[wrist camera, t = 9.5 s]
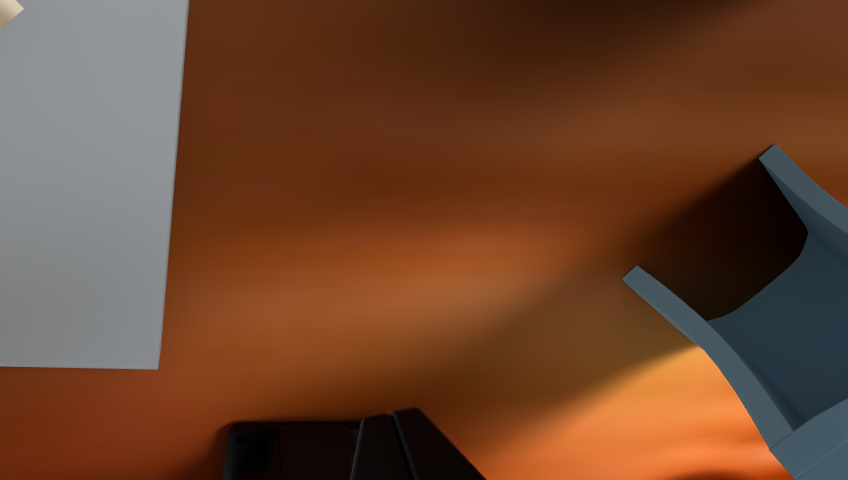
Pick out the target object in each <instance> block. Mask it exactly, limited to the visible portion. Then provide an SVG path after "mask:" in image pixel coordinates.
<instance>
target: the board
mask: <svg viewBox="0 0 848 480" xmlns="http://www.w3.org/2000/svg"><path fill="white" fill-rule="evenodd" d="M16 1H17V2H18V3H19V4H20V5H21V6H22V7H23V8H24V9H23V10H22V11H21V12H20V13H19V14H17V15H16V16H15V17H14V18H13V19H11V20H10V21H9V22H8V23H7V24H5V25H4V26H3V27H2V28H0V366H11V367H63V368H114V369H158V365H159V358H160V351H161V342H162V330H163V318H164V305H165V293H166V280H167V268H168V256H169V243H170V231H171V218H172V206H173V194H174V181H175V169H176V156H177V144H178V132H179V119H180V107H181V94H182V82H183V70H184V57H185V45H186V33H187V20H188V8H189V0H16Z"/></svg>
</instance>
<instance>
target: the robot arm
mask: <svg viewBox="0 0 848 480" xmlns="http://www.w3.org/2000/svg"><path fill="white" fill-rule="evenodd" d="M239 435H243V436H239ZM221 480H486V478H485V477H484V476H483V475H482V474H481V473H480V472H479V471H478V470H477V469H476V468H475V467H474V466H473V465H472V464H471V463H470V461H469V460H468V459H467V458H466V457H465V456H464V455H463V454H462V453H461V452H460V451H459V450H458V449H457V448H456V447H455V446H454V444H453V443H452V442H451V441H450V440H449V439H448V438H447V437H446V436H445V435H444V434H443V433H442V432H441V431H440V430H439V429H438V427H437V426H436V425H435V424H434V423H433V422H432V421H431V420H430V419H429V418H428V417H427V416H426V415H425V414H424V413H423V412H422V411H421V410H420V409H419V408H418V407H415V406H412V407H407V408H402V409H397V410H394V411H392V412H391V414H389V413H387V412H382V413H377V414H372V415H367V416H364V417H363V419H362V421H361V422H276V423H238V424H236V425H233V426H232V427H231V428H230V430H229V432H228V438H227V444H226V450H225V456H224V462H223V468H222V475H221Z"/></svg>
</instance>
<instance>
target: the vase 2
mask: <svg viewBox="0 0 848 480" xmlns="http://www.w3.org/2000/svg"><path fill="white" fill-rule="evenodd" d="M759 160H760V161H761V163H762V164H763V165H764V167H765V168H766V170H767V171H768V173H769V174H770V176H771V177H772V178H773V180H774V181H775V183H776V184H777V186H778V187H779V188H780V190H781V191H782V193H783V194H784V196H785V197H786V199H787V200H788V201H789V203H790V204H791V206H792V207H793V209H794V210H795V211H796V213H797V214H798V216H799V217H800V219H801V220H802V222H803V223H804V225H805V226H806V228H807V230H808V237H807V240H806V242H805V245H804V248H803V250H802V252H801V254H800V256H799V257H798V258H797V259H796V261H795V262H794V263H793V264H792V265H791V266H790V267H789V268H787V269H786V270H785V271H784V272H783V273H782V274H781V275H779V276H778V277H777V278H776V279H775V280H773V281H772V282H771V283H770V284H768V285H767V286H766V287H765V288H764V289H762V290H761V291H760V292H759V293H757V294H756V295H755V296H754V297H752V298H751V299H750V300H749V301H747V302H746V303H745V304H743V305H742V306H741V307H739V308H738V309H736V310H735V311H733V312H731V313H730V314H727V315H725V316H722V317H719V318H715V319H712V320H708V321H705V320H704V319H703V318H702V317H701V316H700V315H699V314H697V313H696V312H695V311H694V310H693V309H692V308H690V307H689V306H688V305H687V304H686V303H685V302H684V301H682V300H681V299H680V298H679V297H678V296H676V295H675V294H674V293H673V292H671V291H670V290H669V289H668V288H666V287H665V286H664V285H663V284H661V283H660V282H659V281H657V280H656V279H655V278H653V277H652V276H651V275H650V274H648V273H647V272H646V271H644V270H643V269H642V268H640V267H639V266H638V265H637V266H636V267H634V268H633V269H632V270H631V271H630V272H629V273H628V274H627V275H625V276H624V277H623V278H622V280H623V281H624V282H625V283H626V284H627V285H628V286H629V287H631V288H632V289H633V290H634V291H635V292H636V293H637V294H638V295H640V296H641V297H642V298H643V299H644V300H645V301H646V302H647V303H648V304H650V305H651V306H652V307H653V308H654V309H655V310H656V311H657V312H659V313H660V314H661V315H662V316H663V317H664V318H665V319H666V320H668V321H669V322H670V323H671V324H672V325H673V326H674V327H675V328H676V329H678V330H679V331H680V332H681V333H682V334H683V335H685V336H686V337H687V338H688V339H690V340H691V341H692V342H694V343H695V344H696V345H698V346H699V347H700V348H702V349H703V350H704V351H705V352H706V353H707V354H708V355H709V357H710V358H711V359H712V360H713V362H714V363H715V364H716V365H717V366H718V368H719V369H720V370H721V372H722V373H723V375H724V376H725V378H726V379H727V380H728V382H729V383H730V385H731V386H732V388H733V389H734V390H735V392H736V394H737V395H738V397H739V398H740V400H741V402H742V403H743V405H744V406H745V408H746V410H747V411H748V413H749V415H750V416H751V418H752V420H753V421H754V423H755V425H756V427H757V428H758V430H759V432H760V434H761V435H762V437H763V439H764V440H765V442H766V444H767V446H768V447H769V450H770V451H771V453H772V454H773V455H774V456H775V457H776V458H777V460H778V461H779V462H780V463H781V464H782V465H783V466H784V468H785V469H786V470H787V471H788V472H789V473H790V475H791V476H792V477H793V478H794V479H795V480H848V208H846V207H845V206H843V205H842V204H841V203H839V202H838V201H836V200H835V199H834V198H832V197H831V196H830V195H829V194H828V193H826V192H825V191H824V190H823V189H822V188H820V187H819V186H818V185H817V184H816V183H814V182H813V181H812V180H811V179H810V178H809V177H808V176H807V175H806V174H805V173H804V172H803V171H802V170H801V169H800V168H799V167H798V166H797V165H796V164H795V163H794V162H793V161H792V160H791V159H790V158H789V157H788V156H787V155H786V154H785V153H784V152H783V151H782V150H781V149H780V148H779V147H778V146H777V145H776V144H774V145H773V146H772V147H771V148H770V149H768V150H767V151H766V152H765V153H764V154H763V155H762V156H760V157H759Z"/></svg>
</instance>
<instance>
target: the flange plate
mask: <svg viewBox="0 0 848 480" xmlns="http://www.w3.org/2000/svg"><path fill="white" fill-rule="evenodd" d="M23 9H24V8H23V7H22V6H21V5H20V4H19V3H18V2H17V1H16V0H0V28H2V27H3V26H4V25H5V24H7V23H8V22H9V21H10V20H11V19H13V18H14V17H15V16H16V15H17V14H19V13H20V12H21V11H22V10H23Z"/></svg>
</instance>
